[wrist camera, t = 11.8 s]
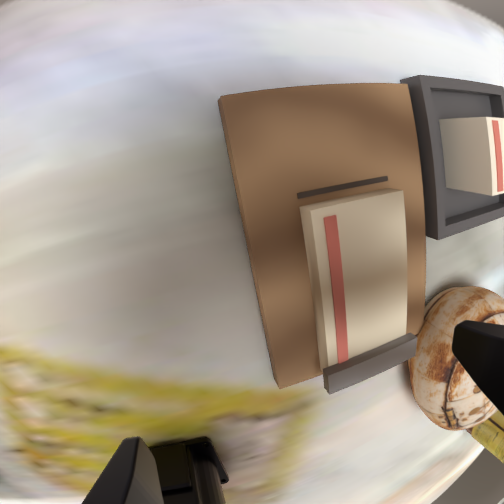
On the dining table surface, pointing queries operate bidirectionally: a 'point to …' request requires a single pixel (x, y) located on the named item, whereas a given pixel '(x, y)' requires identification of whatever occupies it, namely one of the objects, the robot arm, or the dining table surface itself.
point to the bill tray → (431, 151)
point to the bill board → (331, 225)
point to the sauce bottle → (491, 434)
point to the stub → (474, 154)
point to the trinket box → (451, 358)
